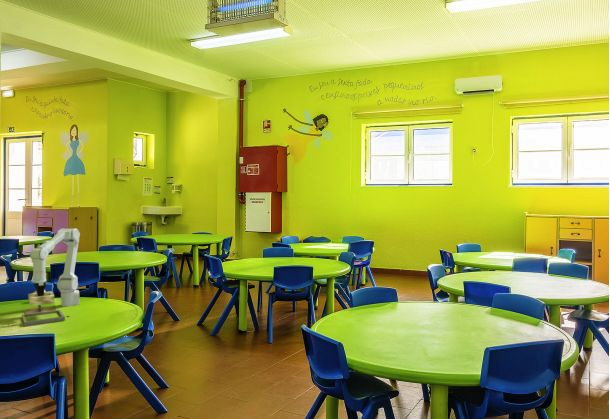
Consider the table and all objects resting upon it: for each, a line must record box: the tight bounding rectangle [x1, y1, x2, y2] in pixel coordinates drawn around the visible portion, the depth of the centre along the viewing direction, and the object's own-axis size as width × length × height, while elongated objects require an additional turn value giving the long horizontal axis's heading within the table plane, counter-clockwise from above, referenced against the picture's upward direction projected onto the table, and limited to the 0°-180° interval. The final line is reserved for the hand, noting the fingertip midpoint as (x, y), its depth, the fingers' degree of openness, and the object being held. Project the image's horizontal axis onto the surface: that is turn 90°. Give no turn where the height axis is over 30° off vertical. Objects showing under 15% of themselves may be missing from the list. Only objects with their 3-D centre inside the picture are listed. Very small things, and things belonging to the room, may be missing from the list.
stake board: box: [22, 305, 57, 315], centre depth 280 cm, size 15×16×7 cm
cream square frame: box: [28, 291, 55, 307], centre depth 268 cm, size 11×12×4 cm
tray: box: [21, 309, 66, 327], centre depth 265 cm, size 18×18×2 cm
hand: (40, 297), depth 272 cm, fingers closed on cream square frame, 3 cm apart
